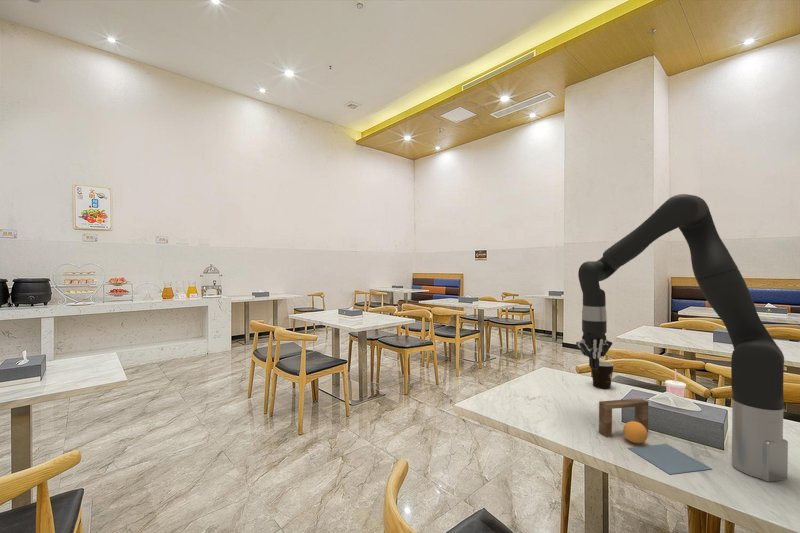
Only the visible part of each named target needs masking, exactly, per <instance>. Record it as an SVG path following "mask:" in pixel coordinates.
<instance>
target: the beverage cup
mask: <svg viewBox="0 0 800 533" xmlns="http://www.w3.org/2000/svg"><path fill="white" fill-rule="evenodd" d="M664 381H665V387H666V393H667V392H670V393H673V394H675V395H678V396H680V397H683V398H684V399H685V395H686V394H685V393H686V387H687V384H686V383H684V382H682V381H678V380H677V369H676V368H674V379H672V380H670V379H668V380H664Z"/></svg>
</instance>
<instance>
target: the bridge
mask: <svg viewBox="0 0 800 533" xmlns="http://www.w3.org/2000/svg"><path fill="white" fill-rule="evenodd" d="M625 408H634V421H636V422H639V423H641V424H642V425H643V426H644V427H645V428H646V430H647V433H648V434H649V401H648V400H645V399H644V398H643V399H642V398H640V397H639V398H630V399H629V398H628V399H627V398H626V399H625V398H624V399H615V400H602V401H601V400H600V401H598V433H599V434H600V435H602V436H604V437H605V438H608V437H609V438H611V437H612V436H613V435H612V434H613V409H625Z"/></svg>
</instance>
